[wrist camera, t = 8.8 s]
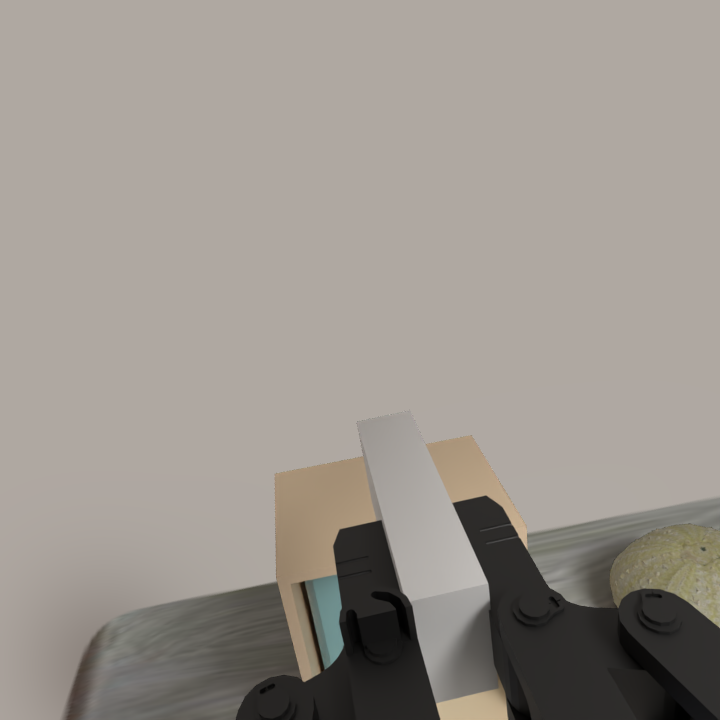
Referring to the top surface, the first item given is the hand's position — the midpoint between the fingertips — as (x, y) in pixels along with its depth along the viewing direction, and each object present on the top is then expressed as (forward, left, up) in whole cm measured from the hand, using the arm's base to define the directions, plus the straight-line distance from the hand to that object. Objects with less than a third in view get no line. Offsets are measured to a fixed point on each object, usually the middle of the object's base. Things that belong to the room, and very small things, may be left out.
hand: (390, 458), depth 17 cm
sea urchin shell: (-2, -21, -22) cm, 31 cm away
